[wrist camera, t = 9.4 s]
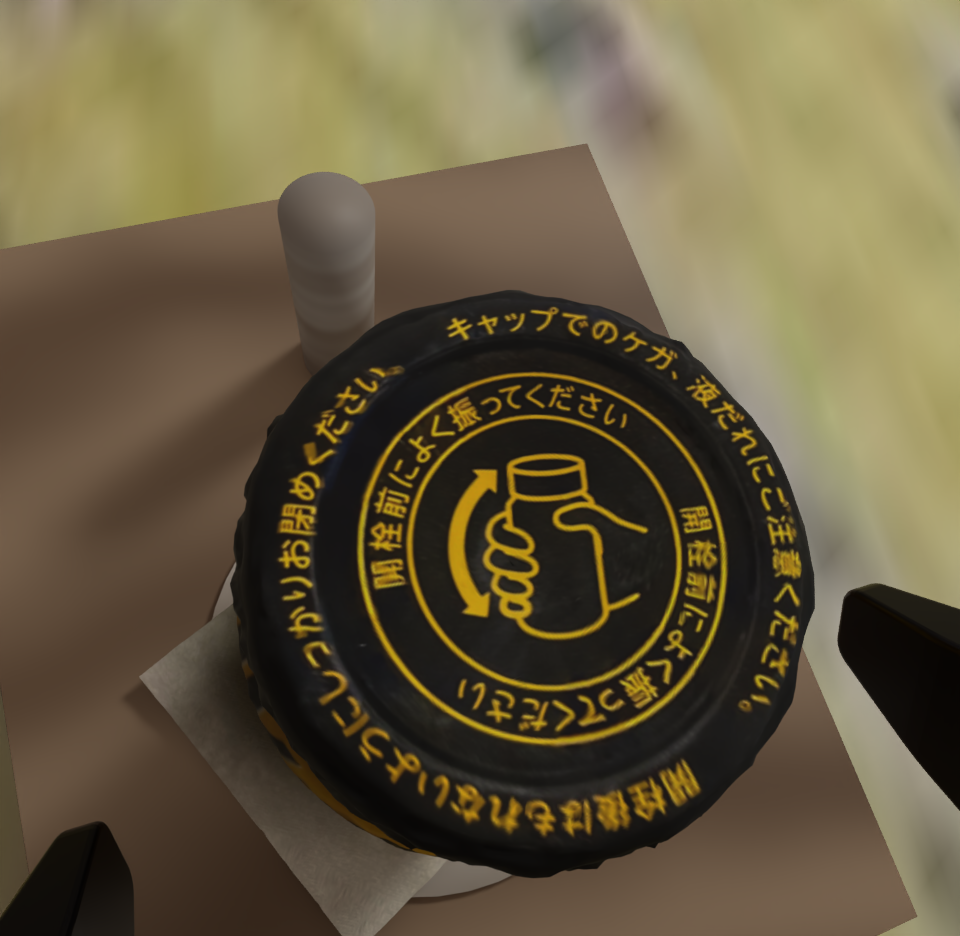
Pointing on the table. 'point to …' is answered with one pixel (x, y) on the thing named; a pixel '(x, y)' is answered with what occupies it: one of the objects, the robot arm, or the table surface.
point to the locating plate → (211, 562)
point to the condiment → (496, 604)
